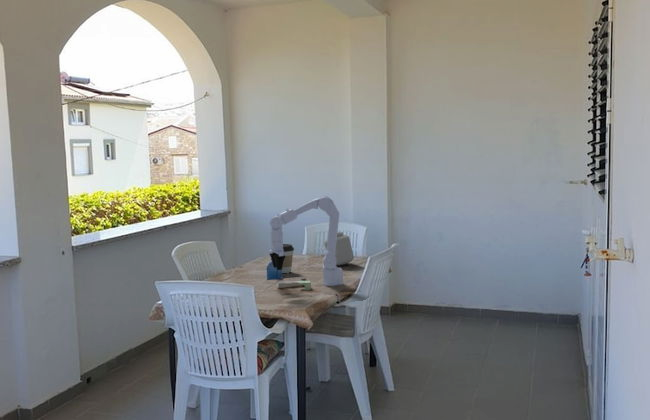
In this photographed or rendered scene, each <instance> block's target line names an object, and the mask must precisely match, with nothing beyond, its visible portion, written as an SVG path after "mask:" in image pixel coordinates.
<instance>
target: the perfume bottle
mask: <svg viewBox="0 0 650 420" xmlns="http://www.w3.org/2000/svg"><path fill="white" fill-rule="evenodd" d="M282 278H283V274H282V270H277V267H276V268H274V266H273V262H272V259H271V258H270V262H269V263H268V265H267V267H266V280H268V279H269V280H270V281H274V280H281V279H282Z"/></svg>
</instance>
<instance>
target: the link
mask: <svg viewBox="0 0 650 420" xmlns="http://www.w3.org/2000/svg"><path fill="white" fill-rule="evenodd" d="M299 281H300V280H297V281H285V282H277V283H276V287H278V288H286V287H296V286H305V285H298V282H299ZM306 281H308V280H307V279H306Z"/></svg>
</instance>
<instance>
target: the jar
mask: <svg viewBox="0 0 650 420" xmlns="http://www.w3.org/2000/svg"><path fill="white" fill-rule="evenodd" d="M327 240H328V238H326V239H325V240H324V241H323V242H324V247H325V250H326V249H327ZM335 257H336V262H337V264H336V266H337V267H338V266H343V265H347V264H349V263H351V262H353V260H354V258H355V257H354V252H353V247H352V244H351V240H350V236H349V235H348V234H344V232H343V231H341V232H339V231H338V232H337V242H336V254H335ZM321 259H322V258H321ZM322 260H323V259H322Z"/></svg>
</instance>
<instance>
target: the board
mask: <svg viewBox="0 0 650 420" xmlns="http://www.w3.org/2000/svg"><path fill="white" fill-rule="evenodd" d="M306 280H307V278H305V277H302V278H301V279H300V281H306ZM271 288H272V289H273V290H274V291H276V292H277V293H278V294H280V295H281V296H288V295H298V294H307V293H315V292H316V293H317V292H321V290H320V289H319V288H317V287H316V286H314V285H313V284H311V289H310V290H305V286H296V287H286V288H278V287H277V286H274V287H271Z"/></svg>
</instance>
